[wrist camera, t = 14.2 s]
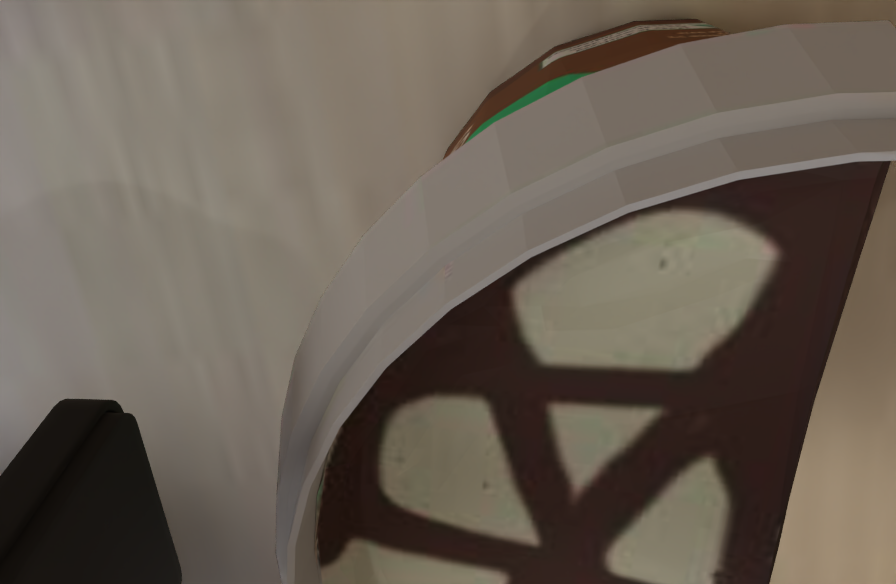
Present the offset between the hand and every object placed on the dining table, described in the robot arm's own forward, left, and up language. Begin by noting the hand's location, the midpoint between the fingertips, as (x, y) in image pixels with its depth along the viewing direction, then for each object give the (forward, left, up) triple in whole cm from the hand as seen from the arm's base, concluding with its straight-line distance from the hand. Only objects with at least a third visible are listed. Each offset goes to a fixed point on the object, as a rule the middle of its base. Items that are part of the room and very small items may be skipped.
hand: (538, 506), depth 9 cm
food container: (+1, 0, -9) cm, 9 cm away
